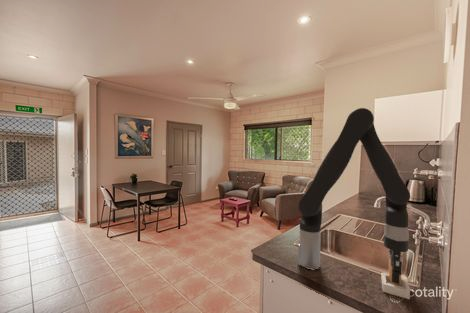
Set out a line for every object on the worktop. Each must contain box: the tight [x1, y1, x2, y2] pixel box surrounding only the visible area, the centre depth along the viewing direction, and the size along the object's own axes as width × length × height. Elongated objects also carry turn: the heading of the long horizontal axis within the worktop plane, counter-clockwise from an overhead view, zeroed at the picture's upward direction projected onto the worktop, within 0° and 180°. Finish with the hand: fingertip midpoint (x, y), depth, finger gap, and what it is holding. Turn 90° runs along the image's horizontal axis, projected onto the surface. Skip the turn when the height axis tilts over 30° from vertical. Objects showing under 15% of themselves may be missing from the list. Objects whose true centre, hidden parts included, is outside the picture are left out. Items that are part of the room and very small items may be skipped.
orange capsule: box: [388, 259, 403, 286], centre depth 82 cm, size 4×4×8 cm
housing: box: [380, 272, 411, 300], centre depth 82 cm, size 8×9×4 cm
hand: (394, 279), depth 82 cm, fingers closed on orange capsule, 4 cm apart
